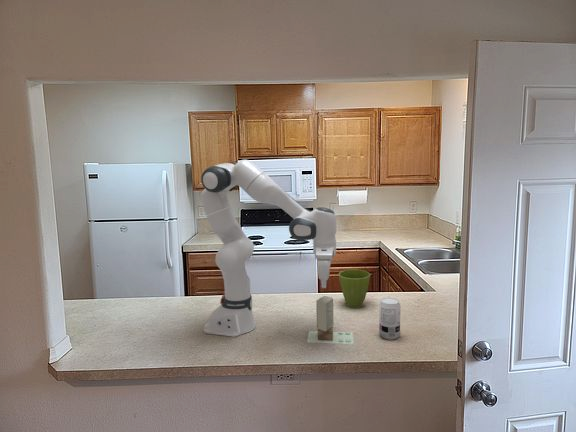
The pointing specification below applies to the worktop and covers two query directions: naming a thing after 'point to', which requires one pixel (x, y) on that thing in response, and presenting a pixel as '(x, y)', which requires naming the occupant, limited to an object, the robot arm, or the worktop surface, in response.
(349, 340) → the base board
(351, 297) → the flower pot
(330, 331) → the walnut brick
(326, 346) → the worktop surface
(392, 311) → the supplement can
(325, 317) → the skincare box
